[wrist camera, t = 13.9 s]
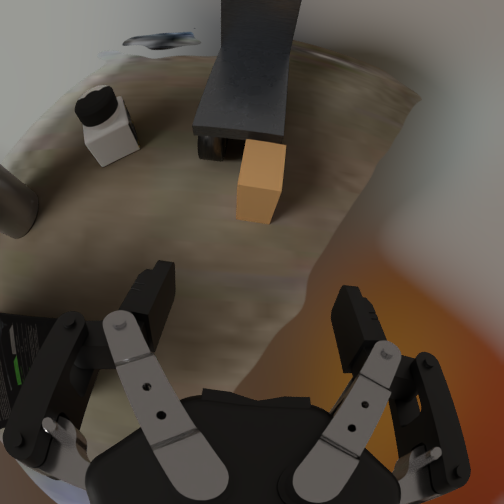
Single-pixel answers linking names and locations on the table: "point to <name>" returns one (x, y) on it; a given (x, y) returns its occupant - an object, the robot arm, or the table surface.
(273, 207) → the light orange block
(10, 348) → the headset box
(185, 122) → the table surface
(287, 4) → the trolley
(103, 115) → the medicine bottle
